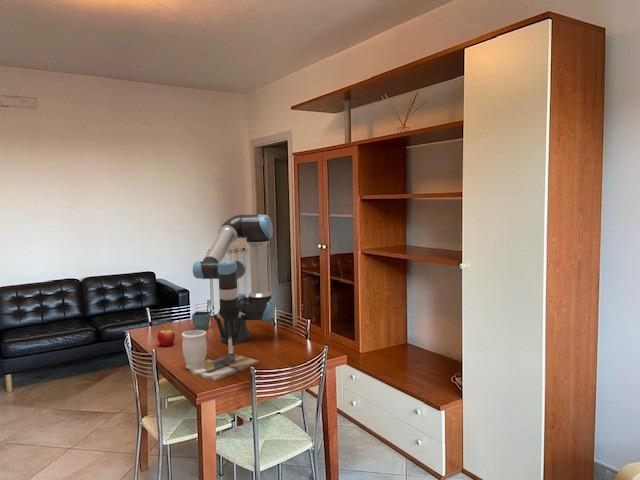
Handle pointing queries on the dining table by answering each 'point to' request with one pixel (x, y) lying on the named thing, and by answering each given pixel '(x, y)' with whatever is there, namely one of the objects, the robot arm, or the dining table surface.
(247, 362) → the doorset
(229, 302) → the robot arm
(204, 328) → the flower pot
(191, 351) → the jar
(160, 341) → the apple
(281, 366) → the dining table surface
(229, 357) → the latch bar
